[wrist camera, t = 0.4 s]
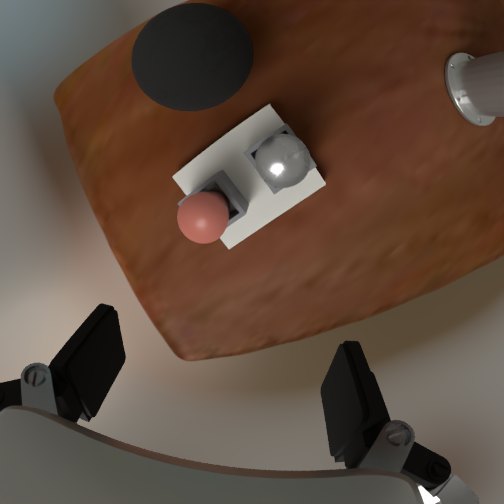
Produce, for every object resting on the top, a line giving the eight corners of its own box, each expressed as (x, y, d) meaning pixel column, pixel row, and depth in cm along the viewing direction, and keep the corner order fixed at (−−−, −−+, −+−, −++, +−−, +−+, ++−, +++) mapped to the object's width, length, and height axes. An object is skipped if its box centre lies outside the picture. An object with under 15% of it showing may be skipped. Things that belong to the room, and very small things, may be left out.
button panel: (269, 106, 30) (269, 96, 24) (323, 182, 34) (336, 190, 27) (177, 175, 34) (157, 182, 28) (230, 244, 38) (223, 265, 31)
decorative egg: (225, 20, 26) (201, -39, 12) (274, 86, 29) (279, 45, 16) (148, 68, 29) (87, 38, 15) (191, 135, 32) (142, 130, 18)
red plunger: (217, 175, 29) (206, 182, 23) (243, 209, 30) (238, 224, 25) (185, 201, 30) (167, 213, 25) (210, 233, 32) (198, 252, 26)
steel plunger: (284, 128, 27) (289, 123, 21) (310, 164, 28) (321, 168, 22) (248, 153, 28) (243, 154, 22) (274, 188, 29) (276, 198, 24)
